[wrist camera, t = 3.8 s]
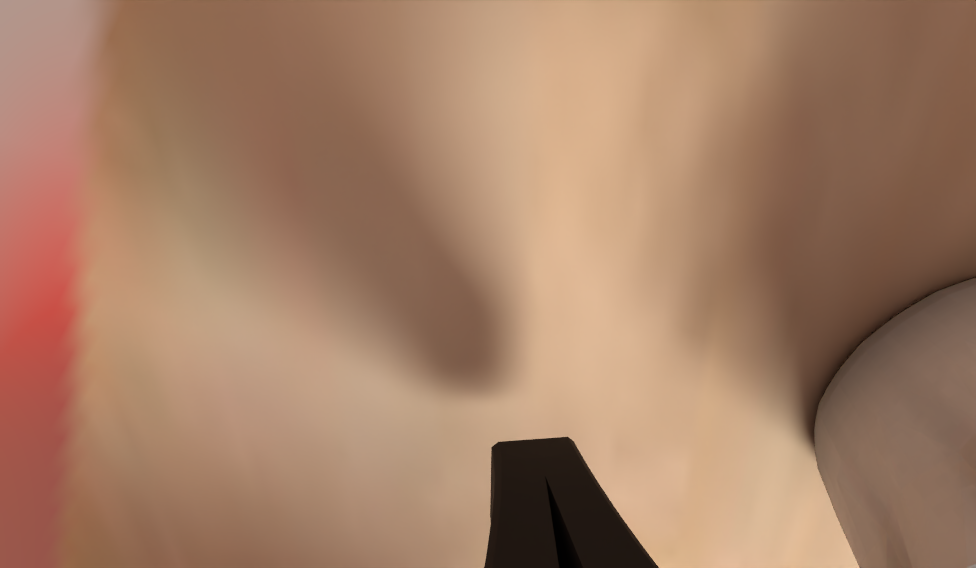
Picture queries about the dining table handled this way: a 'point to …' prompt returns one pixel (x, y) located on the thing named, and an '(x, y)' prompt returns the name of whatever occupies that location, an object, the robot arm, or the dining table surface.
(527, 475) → the robot arm
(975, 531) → the cupcake
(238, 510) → the dining table surface
